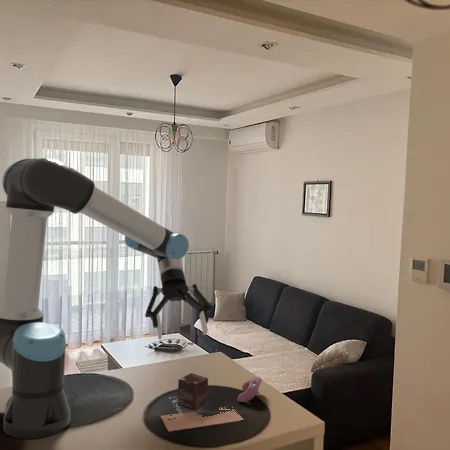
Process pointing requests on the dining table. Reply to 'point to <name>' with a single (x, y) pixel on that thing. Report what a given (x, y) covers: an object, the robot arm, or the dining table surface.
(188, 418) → the t mat
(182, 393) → the box
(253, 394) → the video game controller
